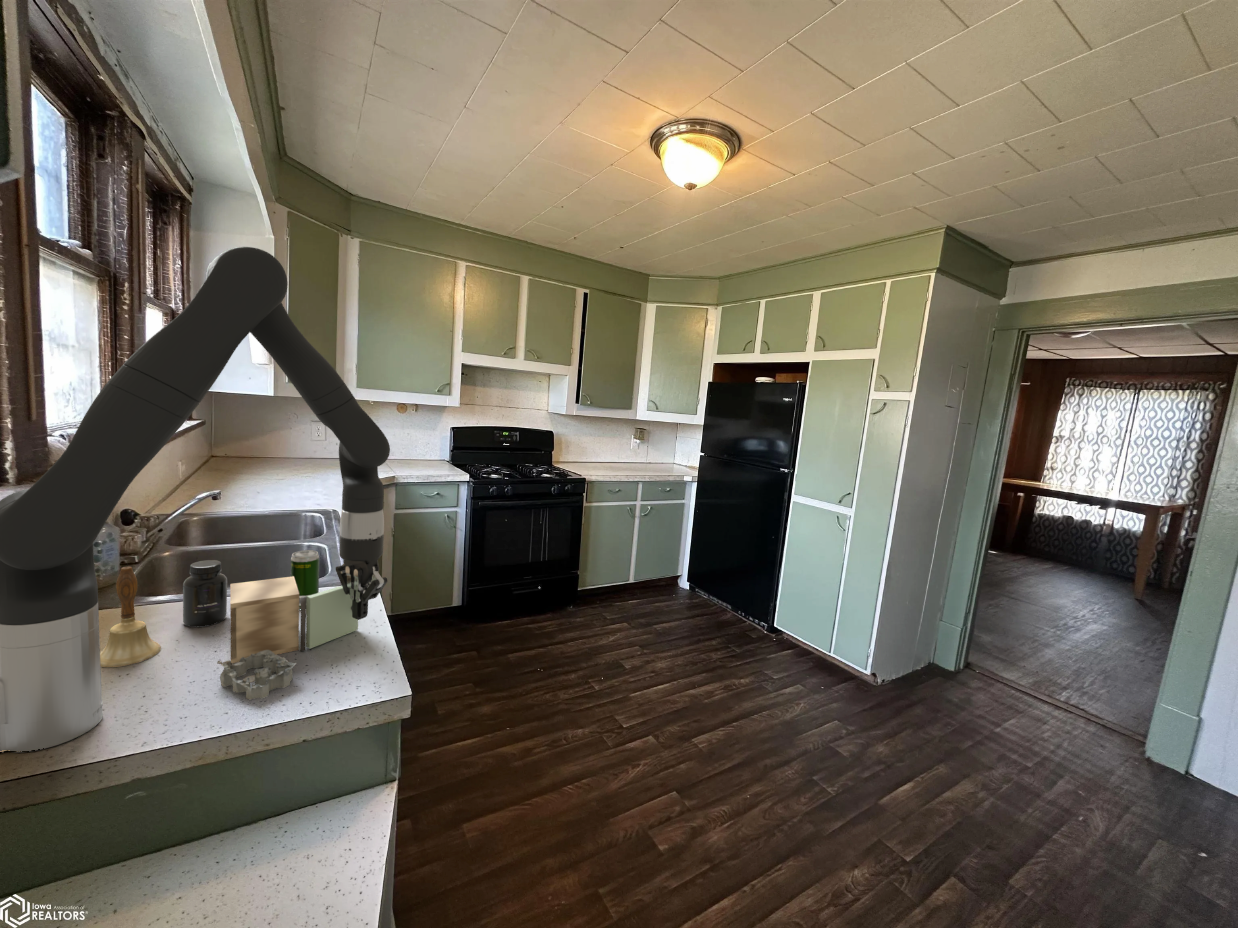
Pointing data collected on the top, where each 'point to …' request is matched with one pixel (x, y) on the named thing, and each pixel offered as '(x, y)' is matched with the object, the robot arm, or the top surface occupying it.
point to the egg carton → (257, 674)
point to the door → (328, 616)
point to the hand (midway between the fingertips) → (359, 617)
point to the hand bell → (128, 629)
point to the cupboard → (266, 617)
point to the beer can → (305, 572)
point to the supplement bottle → (204, 594)
